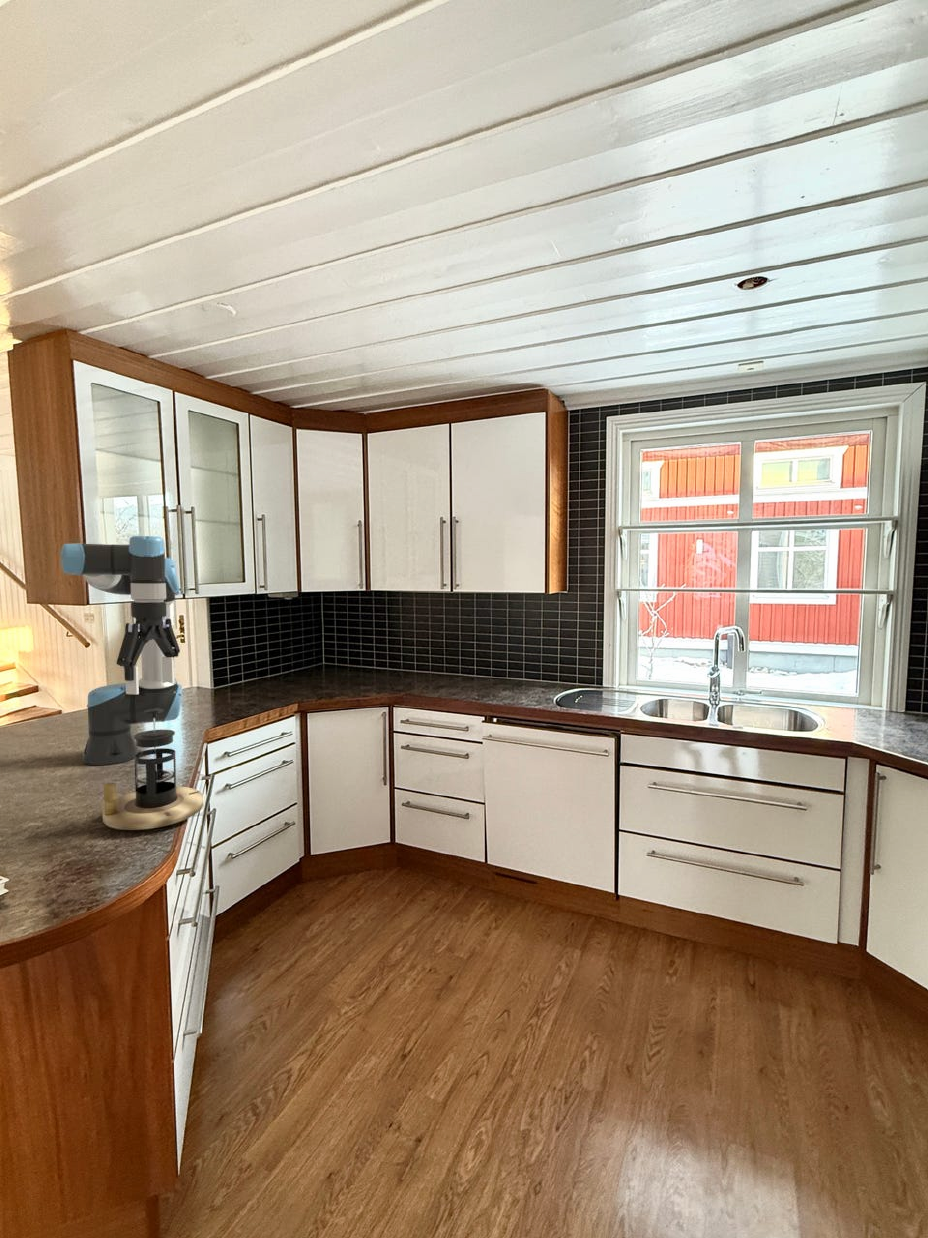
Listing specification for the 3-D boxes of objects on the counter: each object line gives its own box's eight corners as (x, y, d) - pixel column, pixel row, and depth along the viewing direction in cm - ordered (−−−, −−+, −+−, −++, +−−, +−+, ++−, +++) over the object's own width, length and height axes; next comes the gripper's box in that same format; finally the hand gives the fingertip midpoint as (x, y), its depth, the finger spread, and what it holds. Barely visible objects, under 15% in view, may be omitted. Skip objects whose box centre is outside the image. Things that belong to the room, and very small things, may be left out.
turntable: (184, 787, 163) (183, 755, 162) (217, 811, 147) (216, 776, 147) (92, 809, 148) (90, 774, 147) (117, 838, 132) (116, 799, 131)
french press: (140, 795, 152) (137, 705, 150) (180, 791, 155) (178, 703, 153) (129, 813, 141) (126, 717, 139) (173, 808, 144) (170, 714, 142)
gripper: (166, 597, 156) (168, 678, 158) (96, 603, 132) (99, 698, 134) (193, 598, 155) (195, 679, 157) (127, 604, 131) (130, 700, 133)
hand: (151, 688), depth 145 cm, fingers open, 13 cm apart
